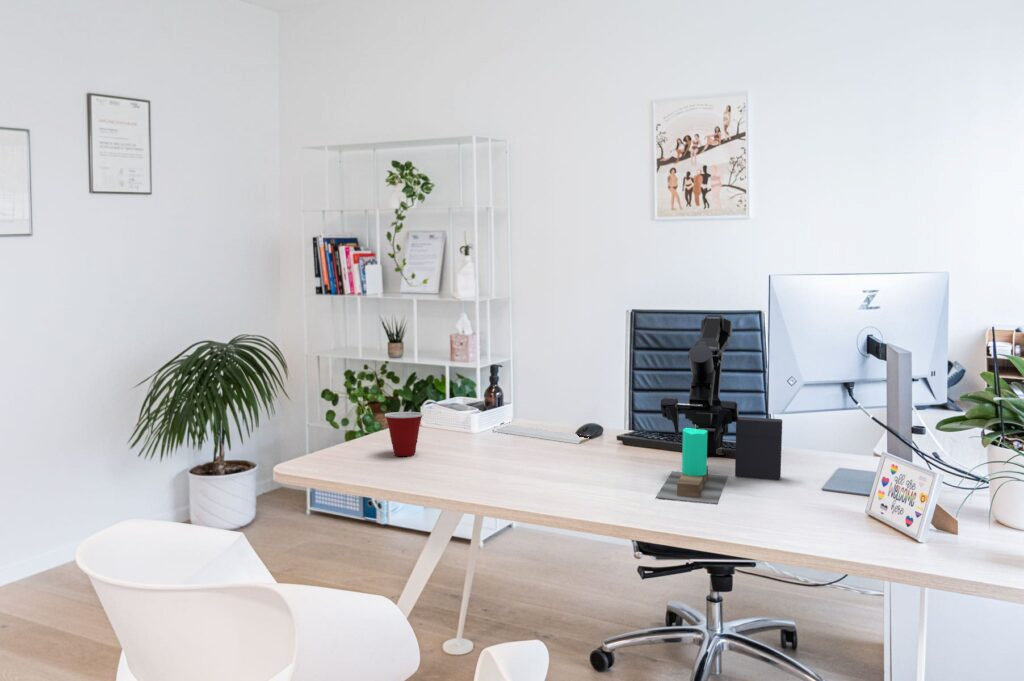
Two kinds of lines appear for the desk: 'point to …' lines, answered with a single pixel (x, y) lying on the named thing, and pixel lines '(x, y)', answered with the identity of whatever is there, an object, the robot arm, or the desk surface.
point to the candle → (694, 452)
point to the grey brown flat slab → (693, 487)
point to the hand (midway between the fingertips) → (695, 438)
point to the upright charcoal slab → (758, 448)
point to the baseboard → (541, 434)
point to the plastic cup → (404, 431)
